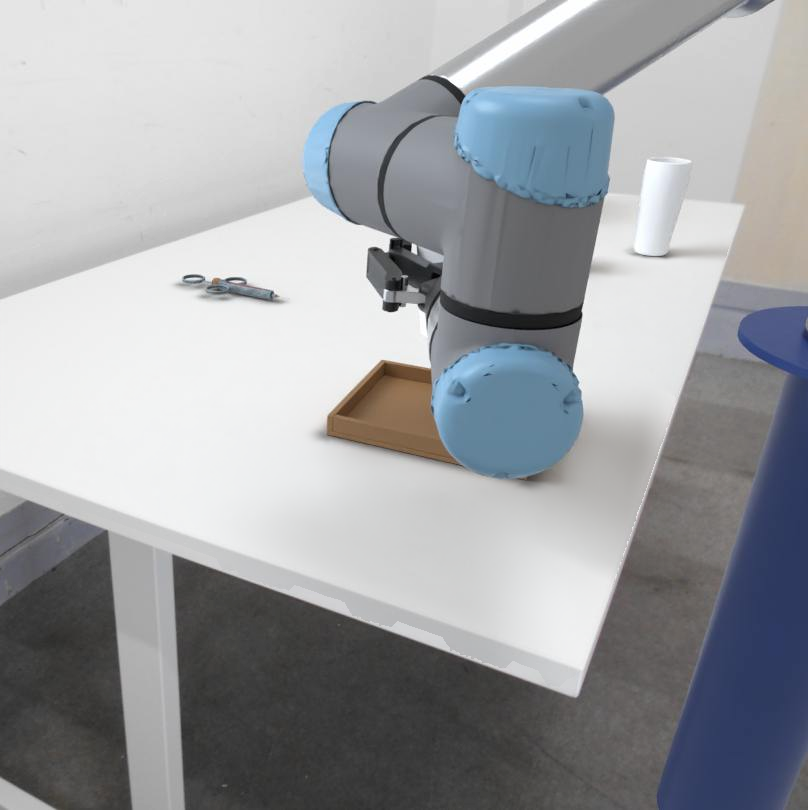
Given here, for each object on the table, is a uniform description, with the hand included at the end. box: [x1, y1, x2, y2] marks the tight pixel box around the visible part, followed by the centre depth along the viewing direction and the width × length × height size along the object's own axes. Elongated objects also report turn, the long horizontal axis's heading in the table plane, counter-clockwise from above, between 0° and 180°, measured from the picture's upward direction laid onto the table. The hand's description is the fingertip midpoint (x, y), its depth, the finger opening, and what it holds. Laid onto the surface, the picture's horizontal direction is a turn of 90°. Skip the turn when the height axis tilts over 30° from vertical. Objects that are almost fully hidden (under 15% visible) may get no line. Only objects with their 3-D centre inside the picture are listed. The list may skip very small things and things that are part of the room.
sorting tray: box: [326, 359, 528, 481], centre depth 77 cm, size 18×15×2 cm
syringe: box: [181, 273, 289, 301], centre depth 113 cm, size 8×18×2 cm, turn 57°
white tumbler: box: [633, 156, 693, 257], centre depth 131 cm, size 7×7×15 cm
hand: (460, 244), depth 74 cm, fingers closed on foam cup, 9 cm apart
